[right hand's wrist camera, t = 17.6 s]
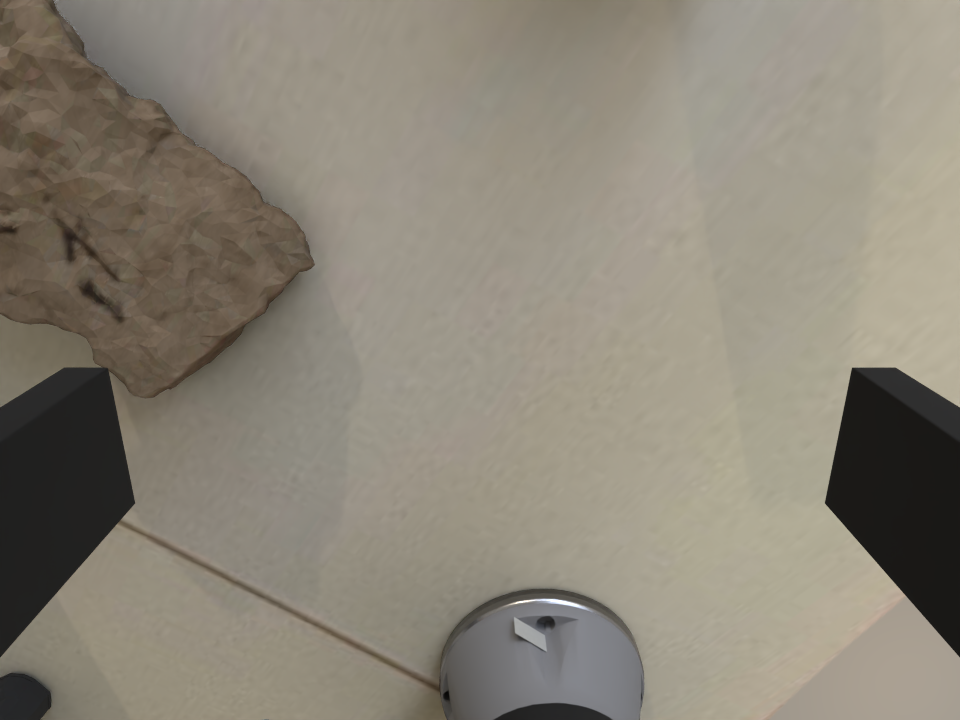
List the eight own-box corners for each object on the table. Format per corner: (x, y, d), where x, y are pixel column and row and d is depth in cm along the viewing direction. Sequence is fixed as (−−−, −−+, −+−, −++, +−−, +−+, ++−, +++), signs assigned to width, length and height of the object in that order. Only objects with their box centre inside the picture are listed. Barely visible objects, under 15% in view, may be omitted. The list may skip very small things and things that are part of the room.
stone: (-167, 160, 36) (-245, 165, 31) (25, -42, 36) (-20, -74, 31) (167, 401, 45) (153, 439, 39) (324, 240, 45) (332, 254, 39)
